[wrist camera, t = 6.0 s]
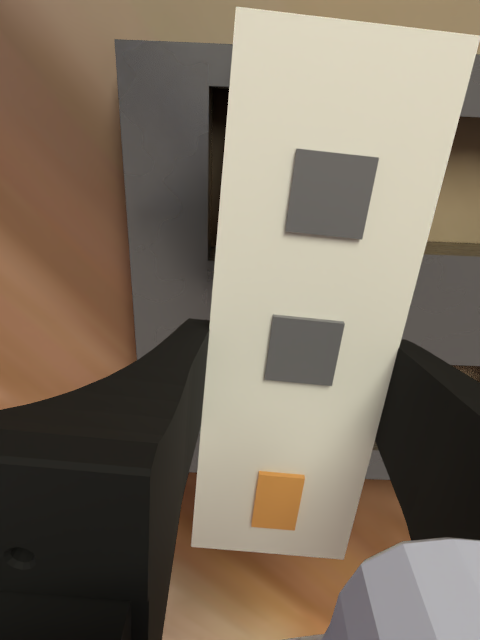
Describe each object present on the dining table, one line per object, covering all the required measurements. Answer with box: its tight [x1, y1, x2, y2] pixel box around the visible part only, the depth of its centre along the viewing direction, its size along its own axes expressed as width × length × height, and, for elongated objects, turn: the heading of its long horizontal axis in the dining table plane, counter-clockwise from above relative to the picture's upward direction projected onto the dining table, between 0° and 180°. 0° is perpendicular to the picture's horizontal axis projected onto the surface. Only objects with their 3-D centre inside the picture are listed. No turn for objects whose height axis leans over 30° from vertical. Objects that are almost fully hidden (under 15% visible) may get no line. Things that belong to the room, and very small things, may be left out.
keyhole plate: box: [115, 39, 480, 480], centre depth 16 cm, size 18×15×2 cm
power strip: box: [191, 7, 480, 560], centre depth 13 cm, size 4×13×5 cm, turn 174°
